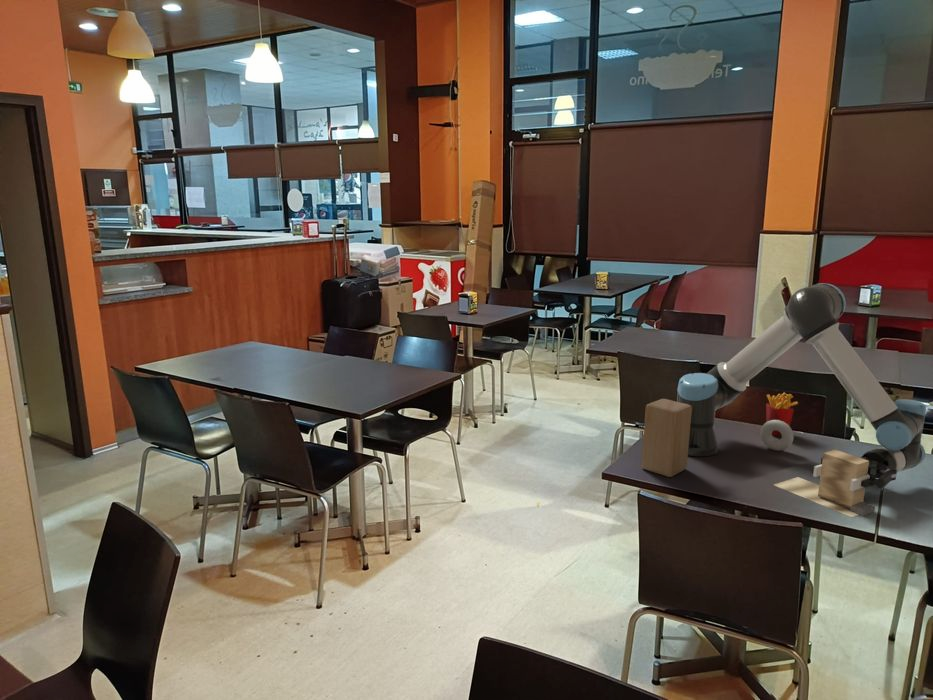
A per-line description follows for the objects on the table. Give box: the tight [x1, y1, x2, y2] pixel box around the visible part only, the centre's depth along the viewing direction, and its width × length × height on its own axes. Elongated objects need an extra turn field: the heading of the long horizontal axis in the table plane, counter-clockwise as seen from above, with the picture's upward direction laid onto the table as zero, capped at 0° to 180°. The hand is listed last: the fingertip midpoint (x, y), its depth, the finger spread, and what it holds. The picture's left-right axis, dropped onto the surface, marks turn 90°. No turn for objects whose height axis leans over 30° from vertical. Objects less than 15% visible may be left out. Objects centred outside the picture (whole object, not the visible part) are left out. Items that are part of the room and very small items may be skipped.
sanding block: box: [818, 449, 869, 508], centre depth 175 cm, size 9×5×12 cm, turn 30°
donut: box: [759, 420, 794, 452], centre depth 215 cm, size 10×4×10 cm, turn 49°
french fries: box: [765, 392, 799, 437], centre depth 228 cm, size 9×8×15 cm
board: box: [773, 476, 877, 518], centre depth 180 cm, size 22×11×2 cm, turn 30°
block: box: [641, 398, 692, 478], centre depth 198 cm, size 10×10×20 cm
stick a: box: [850, 501, 869, 513], centre depth 172 cm, size 2×5×1 cm, turn 120°
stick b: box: [857, 503, 876, 517], centre depth 170 cm, size 2×5×1 cm, turn 121°
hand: (833, 478), depth 172 cm, fingers closed on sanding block, 9 cm apart
